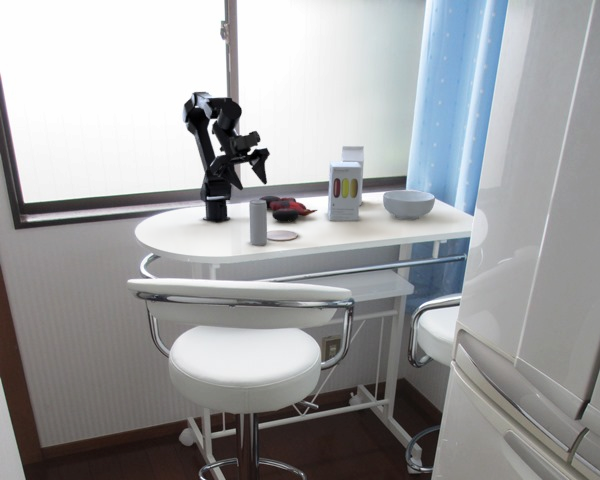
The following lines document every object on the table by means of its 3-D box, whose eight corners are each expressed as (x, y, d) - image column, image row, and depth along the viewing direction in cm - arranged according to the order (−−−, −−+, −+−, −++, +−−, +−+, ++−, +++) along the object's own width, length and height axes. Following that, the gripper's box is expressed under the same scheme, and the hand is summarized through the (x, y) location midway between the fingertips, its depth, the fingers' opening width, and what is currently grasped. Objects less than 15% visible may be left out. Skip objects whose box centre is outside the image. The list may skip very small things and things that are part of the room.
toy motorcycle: (278, 228, 216) (325, 216, 219) (275, 212, 213) (323, 200, 216) (257, 211, 237) (300, 201, 240) (254, 196, 234) (298, 186, 237)
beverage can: (250, 241, 199) (249, 199, 193) (266, 241, 199) (266, 199, 193) (250, 246, 194) (249, 203, 189) (267, 246, 195) (266, 203, 189)
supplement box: (329, 221, 219) (331, 166, 211) (327, 213, 227) (328, 161, 219) (359, 221, 220) (362, 166, 212) (355, 213, 228) (358, 161, 220)
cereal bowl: (441, 221, 220) (443, 199, 216) (392, 224, 216) (394, 202, 212) (420, 209, 234) (422, 188, 230) (374, 212, 230) (375, 190, 227)
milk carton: (361, 205, 238) (364, 148, 228) (340, 205, 238) (342, 148, 229) (360, 201, 244) (362, 144, 235) (340, 200, 244) (342, 144, 235)
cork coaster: (256, 236, 203) (256, 235, 203) (278, 229, 210) (278, 228, 210) (283, 243, 198) (283, 241, 197) (304, 235, 205) (304, 234, 204)
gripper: (215, 125, 184) (242, 176, 184) (266, 117, 196) (292, 165, 195) (198, 149, 193) (224, 198, 193) (247, 140, 204) (272, 186, 204)
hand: (254, 186), depth 196 cm, fingers open, 9 cm apart
